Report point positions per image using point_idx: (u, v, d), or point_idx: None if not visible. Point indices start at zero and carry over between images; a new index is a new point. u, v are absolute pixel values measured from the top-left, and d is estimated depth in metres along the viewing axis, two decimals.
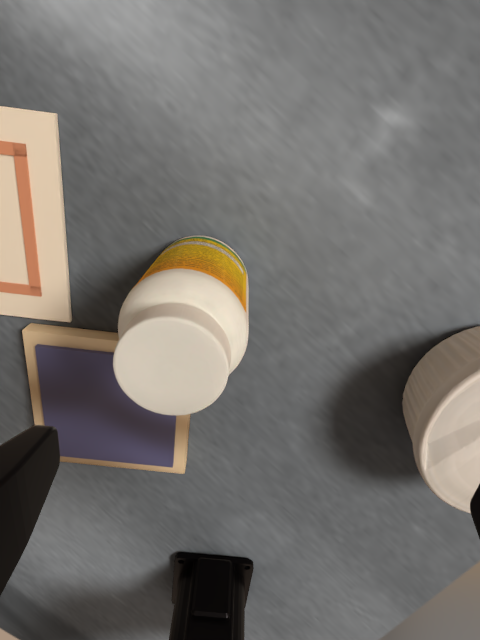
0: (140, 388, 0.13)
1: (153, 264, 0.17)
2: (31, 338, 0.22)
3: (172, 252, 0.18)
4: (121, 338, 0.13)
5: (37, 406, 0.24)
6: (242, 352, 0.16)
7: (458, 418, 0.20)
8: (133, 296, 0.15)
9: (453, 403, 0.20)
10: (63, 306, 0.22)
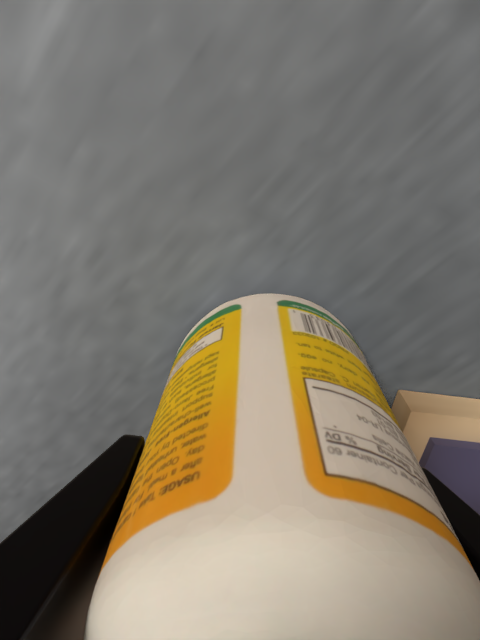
0: None
1: None
2: None
3: None
4: None
5: None
6: (368, 567, 0.04)
7: None
8: None
9: None
10: None
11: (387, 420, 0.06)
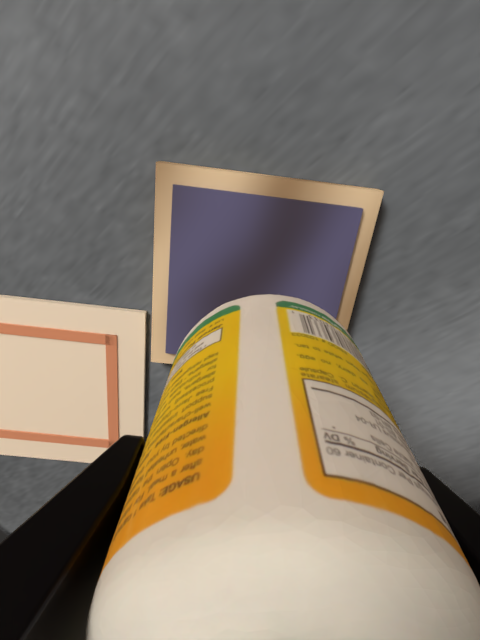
0: None
1: None
2: (160, 354, 0.20)
3: None
4: None
5: None
6: (366, 567, 0.04)
7: None
8: None
9: None
10: (126, 316, 0.20)
11: (385, 420, 0.06)
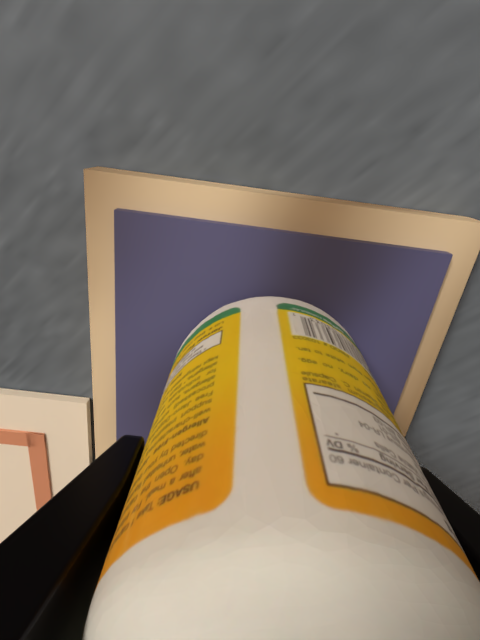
0: None
1: None
2: None
3: None
4: None
5: None
6: (371, 581, 0.04)
7: None
8: None
9: None
10: (57, 407, 0.13)
11: (389, 426, 0.06)
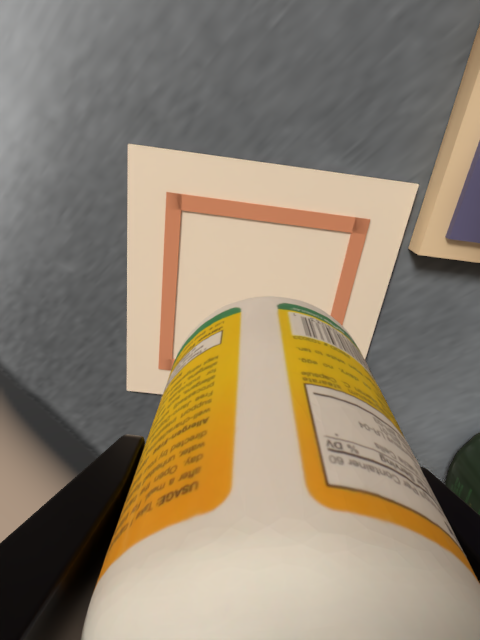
0: None
1: None
2: (434, 244, 0.15)
3: None
4: None
5: None
6: (371, 583, 0.04)
7: None
8: None
9: None
10: (391, 189, 0.15)
11: (389, 427, 0.06)
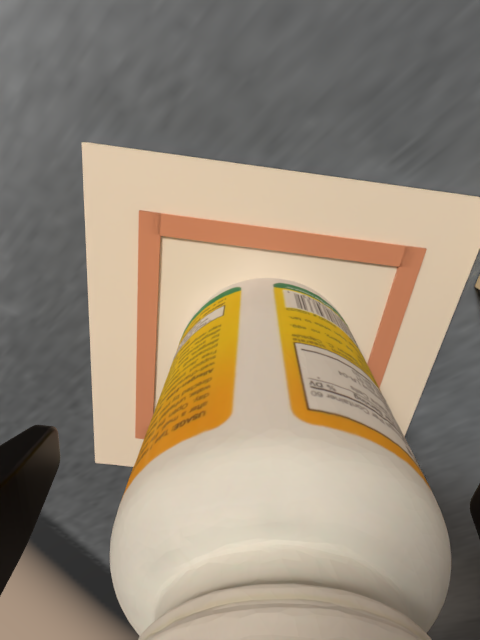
0: None
1: None
2: None
3: None
4: None
5: None
6: (338, 472, 0.05)
7: None
8: None
9: None
10: (458, 206, 0.10)
11: (366, 379, 0.07)
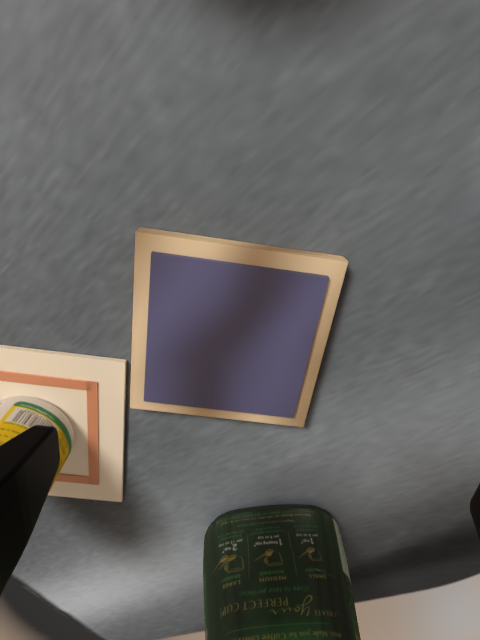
0: None
1: None
2: (138, 401, 0.21)
3: None
4: None
5: (226, 413, 0.22)
6: None
7: None
8: None
9: None
10: (107, 364, 0.21)
11: None
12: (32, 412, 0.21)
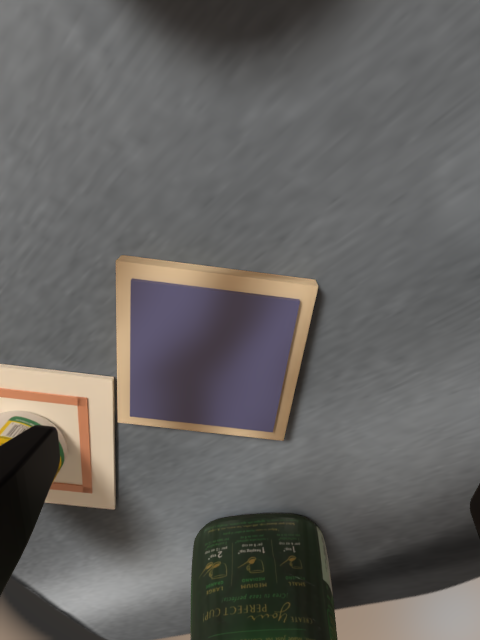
0: None
1: None
2: (125, 416, 0.23)
3: None
4: None
5: (208, 428, 0.23)
6: None
7: None
8: None
9: None
10: (95, 382, 0.23)
11: None
12: (26, 427, 0.22)
